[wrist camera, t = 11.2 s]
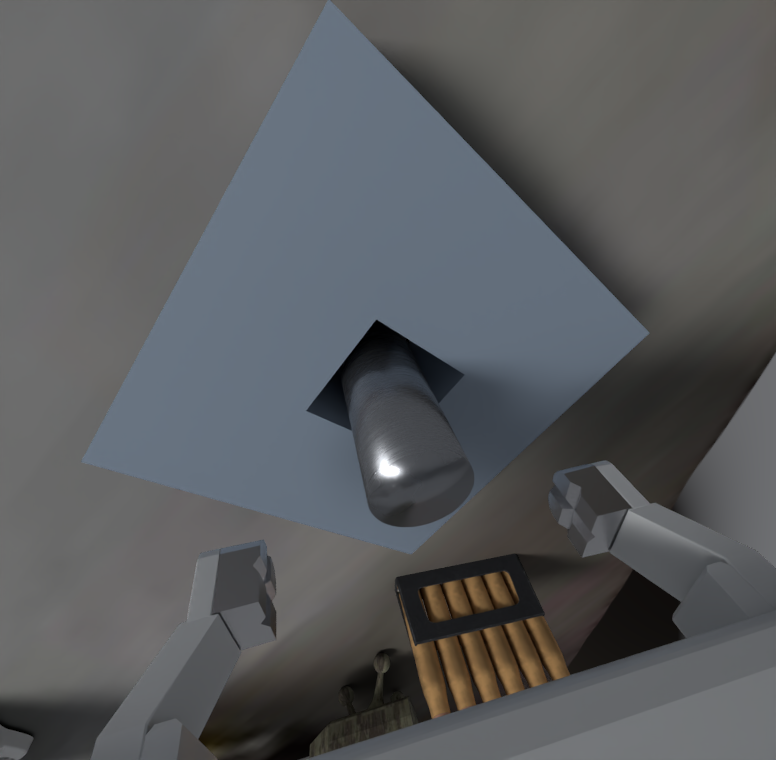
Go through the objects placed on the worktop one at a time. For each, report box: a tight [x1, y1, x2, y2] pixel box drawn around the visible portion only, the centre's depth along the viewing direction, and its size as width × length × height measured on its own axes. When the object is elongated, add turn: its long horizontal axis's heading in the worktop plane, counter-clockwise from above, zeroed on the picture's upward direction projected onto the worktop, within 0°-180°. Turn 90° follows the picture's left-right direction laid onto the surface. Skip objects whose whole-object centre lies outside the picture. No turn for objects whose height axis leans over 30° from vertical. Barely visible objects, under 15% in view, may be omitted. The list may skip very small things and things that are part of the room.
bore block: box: [81, 0, 649, 554], centre depth 18 cm, size 16×16×5 cm
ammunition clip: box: [395, 554, 570, 719], centre depth 29 cm, size 11×2×12 cm, turn 89°
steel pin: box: [339, 319, 474, 527], centre depth 16 cm, size 3×3×10 cm
